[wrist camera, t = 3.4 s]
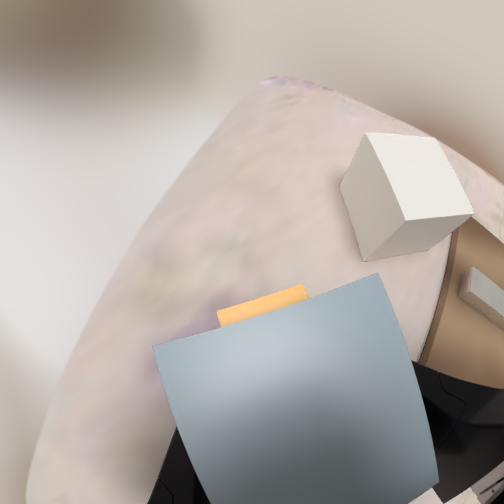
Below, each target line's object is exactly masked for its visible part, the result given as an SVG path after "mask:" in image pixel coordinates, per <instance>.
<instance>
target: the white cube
mask: <svg viewBox="0 0 504 504" xmlns="http://www.w3.org/2000/svg"><path fill="white" fill-rule="evenodd" d="M339 188H340V191H341V194H342V196H343V199H344V202H345V205H346V208H347V211H348V214H349V217H350V220H351V223H352V226H353V230H354V233H355V236H356V239H357V243H358V246H359V249H360V253H361V256H362V260H363V262H365V261H371V260H377V259H383V258H389V257H394V256H400V255H405V254H411V253H416V252H422V251H427V250H429V249H430V248H432V247H433V246H434V245H436V244H437V243H438V242H440V241H441V240H442V239H443V238H445V237H446V236H447V235H449V234H450V233H451V232H452V231H454V230H455V229H456V228H457V227H459V226H460V225H461V224H462V223H464V222H465V221H466V220H467V219H469V218H470V217H471V216H472V215H473V214H474V211H473V209H472V207H471V205H470V202H469V200H468V198H467V196H466V194H465V192H464V190H463V187H462V185H461V183H460V181H459V179H458V178H457V176H456V174H455V172H454V170H453V168H452V166H451V164H450V163H449V161H448V159H447V157H446V156H445V154H444V152H443V150H442V149H441V147H440V145H439V144H438V142H437V140H436V139H435V138H430V137H421V136H412V135H400V134H387V133H369V132H365V134H364V136H363V138H362V140H361V143H360V145H359V147H358V149H357V151H356V153H355V155H354V158H353V160H352V162H351V164H350V166H349V168H348V170H347V172H346V174H345V176H344V178H343V180H342V182H341V184H340V186H339Z"/></svg>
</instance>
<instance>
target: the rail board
mask: <svg viewBox="0 0 504 504" xmlns="http://www.w3.org/2000/svg"><path fill="white" fill-rule="evenodd" d="M419 364H421V365H424V366H426V367H429V368H431V369H434V370H436V371H438V372H442V373H444V374H447V375H450V376H452V377H455V378H458V379H461V380H465V381H468V382H472V383H476V384H480V385H484V386H489V387H493V388H504V244H503V243H502V242H501V241H500V240H499V239H497V238H496V237H495V236H494V235H493V234H492V233H490V232H489V231H488V230H487V229H486V228H485V227H483V226H482V225H481V224H480V223H478V222H477V221H476V220H475V219H474V218H472V217H470V218H469V219H467V220H466V221H465V222H464V223H462V224H461V225H460V226H459V227H457V228H456V229H455V230H454V231H453V233H452V240H451V246H450V252H449V257H448V262H447V267H446V272H445V277H444V281H443V285H442V289H441V293H440V297H439V301H438V305H437V308H436V312H435V315H434V319H433V322H432V325H431V329H430V332H429V335H428V338H427V341H426V344H425V346H424V349H423V352H422V355H421V357H420V360H419Z"/></svg>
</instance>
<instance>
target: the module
mask: <svg viewBox="0 0 504 504" xmlns="http://www.w3.org/2000/svg"><path fill="white" fill-rule="evenodd" d="M216 312H217V315H218V318H219V322H220V325H221V327H220V328H217V329H213V330H210V331H206V332H203V333H199V334H196V335H192V336H189V337H185V338H181V339H177V340H174V341H170V342H166V343H162V344H158V345H154V346H152V349H153V353H154V356H155V360H156V363H157V367H158V370H159V374H160V377H161V380H162V384H163V387H164V390H165V393H166V396H167V399H168V402H169V405H170V408H171V411H172V414H173V417H174V419H175V422H176V425H177V428H178V430H179V433H180V436H181V438H182V441H183V443H184V446H185V448H186V451H187V453H188V455H189V458H190V460H191V463H192V465H193V467H194V469H195V472H196V474H197V476H198V478H199V481H200V483H201V485H202V487H203V489H204V491H205V493H206V495H207V497H208V499H209V501H210V503H211V504H408V503H409V502H411V501H412V500H414V499H416V498H417V497H419V496H420V495H422V494H423V493H424V492H426V491H427V490H429V489H430V488H432V487H433V486H434V485H436V484H437V483H438V482H439V476H438V470H437V463H436V458H435V452H434V447H433V442H432V437H431V432H430V428H429V423H428V419H427V415H426V411H425V407H424V403H423V399H422V396H421V392H420V388H419V385H418V381H417V378H416V375H415V371H414V368H413V365H412V362H411V359H410V356H409V353H408V349H407V347H406V344H405V341H404V338H403V335H402V332H401V329H400V327H399V324H398V321H397V318H396V316H395V313H394V311H393V308H392V305H391V303H390V300H389V298H388V295H387V293H386V291H385V288H384V286H383V283H382V281H381V279H380V276H379V274H378V272H377V273H375V274H372V275H370V276H367V277H365V278H362V279H360V280H357V281H355V282H352V283H349V284H347V285H344V286H342V287H339V288H336V289H334V290H331V291H328V292H326V293H323V294H320V295H317V296H315V297H312V298H308V295H307V293H306V290H305V288H304V285H303V284H300V285H297V286H294V287H291V288H288V289H285V290H282V291H279V292H276V293H273V294H270V295H267V296H264V297H260V298H257V299H254V300H251V301H248V302H244V303H241V304H238V305H235V306H231V307H228V308H225V309H222V310H218V311H216Z"/></svg>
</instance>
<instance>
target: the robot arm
mask: <svg viewBox="0 0 504 504" xmlns="http://www.w3.org/2000/svg"><path fill="white" fill-rule="evenodd" d="M411 362H412V365H413V368H414V371H415V375H416V378H417V381H418V385H419V388H420V392H421V396H422V399H423V403H424V407H425V411H426V415H427V419H428V423H429V428H430V432H431V437H432V442H433V447H434V452H435V458H436V463H437V470H438V476H439V482H438V483H437V484H436V485H434V486H433V487H432V488H433V489H434V491H435V492H436V494H437V495H438V497H439V498H440V500H441V501H442V502H443V504H444V503H446V502H448V501H449V500H451V499H452V498H454V497H456V496H457V495H459V494H460V493H462V492H463V491H465V490H466V489H468V488H469V487H470V488H471V489H472V490H473V492H474V493H475V494H476V496H477V499H478V500H479V502H480V503H481V504H504V388H493V387H489V386H484V385H480V384H476V383H472V382H468V381H465V380H461V379H458V378H455V377H452V376H450V375H447V374H444V373H442V372H438V371H436V370H434V369H431V368H429V367H426V366H424V365H421V364H419V363H417V362H414V361H412V360H411ZM158 478H159V479H157V481H156V484H155V486H154V489H153V491H152V494H151V496H150V499H149V501H148V503H147V504H211V503H210V501H209V499H208V497H207V495H206V493H205V491H204V489H203V487H202V485H201V483H200V481H199V478H198V476H197V474H196V472H195V469H194V467H193V465H192V463H191V460H190V458H189V455H188V453H187V451H186V448H185V446H184V443H183V441H182V438H181V436H180V433H179V430H178V428H177V427H176V429H175V432H174V435H173V437H172V440H171V443H170V445H169V448H168V451H167V454H166V456H165V459H164V462H163V465H162V467H161V470H160V473H159V476H158Z"/></svg>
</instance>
